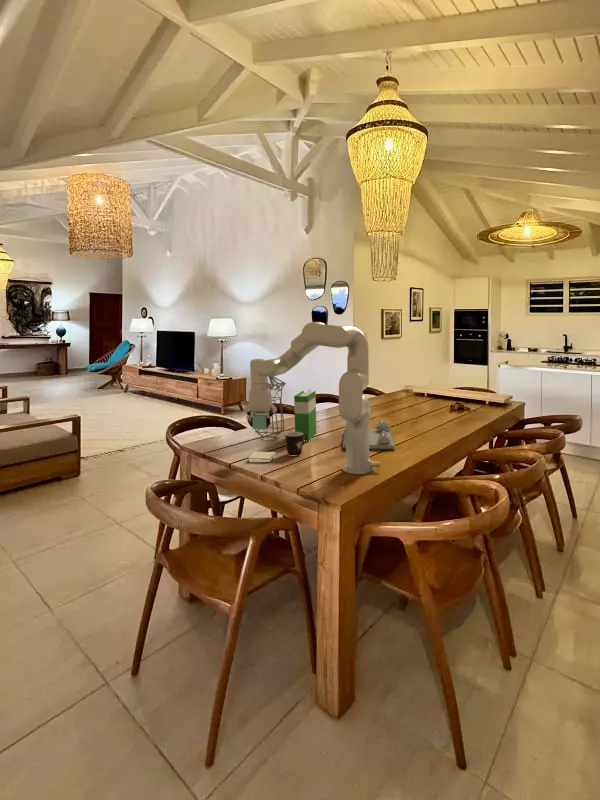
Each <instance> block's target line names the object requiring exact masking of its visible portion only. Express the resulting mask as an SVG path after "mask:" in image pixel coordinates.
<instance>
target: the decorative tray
mask: <svg viewBox="0 0 600 800" xmlns="http://www.w3.org/2000/svg"><path fill="white" fill-rule="evenodd" d="M390 423H391V422H390V421H387V419H385V420H384V419H382V420H381V419H379V420H378V422H377V423H375V424H374V425H375V426H374V428H369V451H377V450H378V451H393V450H394V449H395V448H396V445H395V443H394V439H393V436H392V432H391V431H392V430H391V429H392V426H391V425H390ZM342 448H343V450H346V429H345V430H344V431H343V440H342Z"/></svg>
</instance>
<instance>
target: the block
mask: <svg viewBox="0 0 600 800" xmlns="http://www.w3.org/2000/svg"><path fill="white" fill-rule="evenodd" d="M266 419H267V416H266V413H265V412H258V413H256V412H255V414H254V415H253V416H252V423H253V427H252V430H255V429H256V430H257V429H258V430H259V429H261V430H263V429H264V430H268V429H269V428H268V427H267V425H266Z"/></svg>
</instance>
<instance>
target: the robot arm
mask: <svg viewBox="0 0 600 800" xmlns="http://www.w3.org/2000/svg"><path fill="white" fill-rule="evenodd" d="M319 346H321V347H328V348H336V349H337V348H338V349H339V348H340V349H341V348H347V350H348V351H347V357H346V359H347V360H346V362H347V364H346V365H347V366H346V367H347V368H346V371H345V372H344V373H343V374H342V375H341V377H340V379H339V381H338V411H339V414H340V418H341V419H342V420H343V421H345V422H346V424H345V426H346V427H345V430H346V449H345V453H346V454H345V457H346V458H345V459H346V460H345V461H346V464H344V465H342V471H343V472H344V473H346V474H351V475H366V474H370V473H371V472H373V471H374V468H375V467H376V468H380V467H381V462H379V461H377V460H371V457H370V450H369V429H370V421H371V412H372V409H371V408H372V407H371V406H372V405H371V402H370V400H369V399H368V397H367V396H365V395H363V393H364V390H366V389H367V388H368V386H369V381H370V377H369V376H370V375H369V369H370V368H369V363H370V362H369V342H368V339H367V337H366V335H365V333H363V331H362V330H360V329H358V328H357V327H355V326H353V325H348V324H347V325H335V324H334V325H333V324H325V323H324V322H321V321H311V322H308V323H306V324H305V325H304V326H303V327H302V330H301V333H299V335H297V336H296V337H294V338H293V339H292V340H291V342H290V347H289V349H288V350H286V351H285V352H284V353H283V354H281V355H280V356H279V357H275V358H270V359H266V358H265V359H264V358H254V359H251V360H250V362H249V368H250V371H249V372H250V373H249V374H250V390H249V393H248V403H247V405H246V406H244V408H243V411H244V412H245V414H246V415H247V416H248V417H249V418H250V425H251V426H252V428H253V423H252V416H253V415H254V414H256V412H258V413H264V414H266V416H267V419H266V425H267V427H270V426H271V425H272V421H271V418H272V415H273V416H274V414H275V412H276V413H277V411H278V409H277V407H276V408H275V405H274V404H273V401H272V400H273V398H271V397H272V394H271V393H272V391H271V392H270V390H271V389H269V387H271V386H272V385H271V383H269V381H268V380H269V377H278V376H280V375H284V374H286V373H287V372H289V371H290V370H291V369H293V368H294V367H296V366H297V365H298V364H299V363H300V362H301V361H302V360H303V359H304V358H305V357H306V356H307V355H309V354H310V353H311V352H313V351H314V350H316V348H318V347H319ZM268 376H269V377H268ZM268 383H269V384H268ZM271 410H272V411H271ZM270 411H271V412H270Z"/></svg>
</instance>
